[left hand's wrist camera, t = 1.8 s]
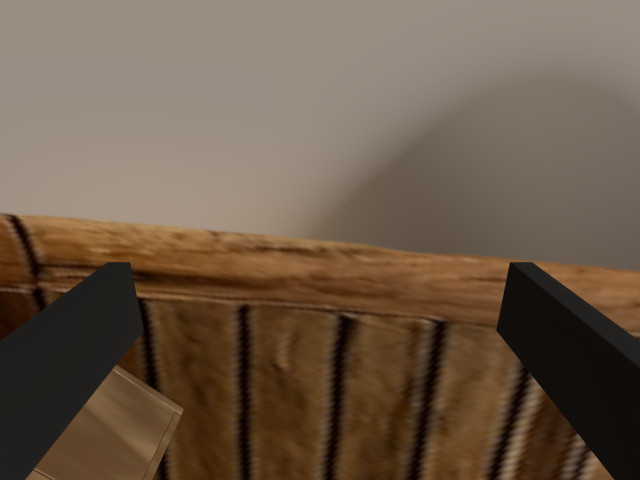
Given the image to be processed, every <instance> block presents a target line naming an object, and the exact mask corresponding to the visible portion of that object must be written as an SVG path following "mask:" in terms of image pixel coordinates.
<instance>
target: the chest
mask: <svg viewBox="0 0 640 480" xmlns="http://www.w3.org/2000/svg"><path fill="white" fill-rule="evenodd" d="M183 410H184V409H183V408H182V407H180V406H179V405H177V404H176V403H174V402H173V401H171V400H170V399H168V398H167V397H165V396H164V395H162V394H161V393H159V392H158V391H156V390H155V389H153V388H151V387H150V386H148V385H147V384H145V383H144V382H142V381H141V380H139V379H138V378H136V377H135V376H133V375H132V374H130V373H129V372H127V371H126V370H124V369H122V368H121V367H119V366H118V365H116V366H115V367H114V368H113V370H112V371H111V372H110V373H109V375H108V376H107V377H106V378H105V380H104V381H103V382H102V384H101V385H100V386H99V387H98V389H97V390H96V391H95V392H94V394H93V395H92V396H91V397H90V399H89V400H88V401H87V403H86V404H85V405H84V406H83V408H82V409H81V410H80V411H79V413H78V414H77V415H76V416H75V418H74V419H73V420H72V422H71V423H70V424H69V425H68V427H67V428H66V429H65V430H64V432H63V433H62V434H61V435H60V437H59V438H58V439H57V440H56V442H55V443H54V444H53V446H52V447H51V448H50V449H49V451H48V452H47V453H46V454H45V456H44V457H43V458H42V459H41V461H40V462H39V463H38V465H37V466H36V467H35V468H34V470H33V471H35V472H37V473H39V474H41V475H43V476H44V477H46V478H48V479H50V480H152V479H153V477H154V474H155V472H156V470H157V468H158V465H159V463H160V461H161V459H162V457H163V454H164V452H165V450H166V448H167V446H168V443H169V441H170V439H171V437H172V434H173V432H174V430H175V428H176V426H177V423H178V421H179V419H180V417H181V414H182V412H183Z"/></svg>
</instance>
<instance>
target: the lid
mask: <svg viewBox="0 0 640 480" xmlns="http://www.w3.org/2000/svg"><path fill="white" fill-rule="evenodd" d="M26 480H50V479H48V478H46V477H44V476H43V475H41V474H39V473H37V472H35V471H32V472H31V473H30V475H29V476H28V477H27V478H26Z"/></svg>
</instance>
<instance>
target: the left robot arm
mask: <svg viewBox="0 0 640 480" xmlns="http://www.w3.org/2000/svg"><path fill="white" fill-rule="evenodd" d="M142 332H143V325H142V320H141V315H140V310H139V305H138V300H137V295H136V290H135V285H134V280H133V275H132V270H131V265H130V262H108V263H106V264H105V265H104V266H102V267H101V268H99V269H98V270H97V271H95V272H94V273H93V274H91V275H90V276H89V277H87V278H86V279H84V280H83V281H82V282H80V283H79V284H78V285H76V286H75V287H74V288H72V289H71V290H69V291H68V292H67V293H65V294H64V295H63V296H61V297H60V298H58V299H57V300H56V301H54V302H53V303H52V304H50V305H49V306H48V307H46V308H45V309H43V310H42V311H41V312H39V313H38V314H37V315H35V316H34V317H33V318H31V319H30V320H28V321H27V322H26V323H24V324H23V325H22V326H20V327H19V328H18V329H16V330H15V331H13V332H12V333H11V334H9V335H8V336H7V337H5V338H4V339H3V340H1V341H0V480H26V478H27V477H28V476H29V475H30V473H31V472H32V471H33V470H34V468H35V467H36V466H37V465H38V463H39V462H40V461H41V459H42V458H43V457H44V456H45V454H46V453H47V452H48V451H49V449H50V448H51V447H52V446H53V444H54V443H55V442H56V440H57V439H58V438H59V437H60V435H61V434H62V433H63V432H64V430H65V429H66V428H67V427H68V425H69V424H70V423H71V422H72V420H73V419H74V418H75V416H76V415H77V414H78V413H79V411H80V410H81V409H82V408H83V406H84V405H85V404H86V403H87V401H88V400H89V399H90V397H91V396H92V395H93V394H94V392H95V391H96V390H97V389H98V387H99V386H100V385H101V384H102V382H103V381H104V380H105V378H106V377H107V376H108V375H109V373H110V372H111V371H112V370H113V368H114V367H115V366H116V365H117V363H118V362H119V361H120V359H121V358H122V357H123V356H124V354H125V353H126V352H127V351H128V349H129V348H130V347H131V346H132V344H133V343H134V342H135V341H136V339H137V338H138V337H139V335H140V334H141V333H142ZM497 332H498V333H499V334H500V335H501V337H502V338H503V339H504V341H505V342H506V343H507V344H508V346H509V347H510V348H511V349H512V351H513V352H514V353H515V354H516V356H517V357H518V358H519V359H520V361H521V362H522V363H523V365H524V366H525V367H526V368H527V370H528V371H529V372H530V373H531V375H532V376H533V377H534V378H535V380H536V381H537V382H538V384H539V385H540V386H541V387H542V389H543V390H544V391H545V392H546V394H547V395H548V396H549V397H550V399H551V400H552V401H553V403H554V404H555V405H556V406H557V408H558V409H559V410H560V411H561V413H562V414H563V415H564V416H565V418H566V419H567V420H568V422H569V423H570V424H571V425H572V427H573V428H574V429H575V430H576V432H577V433H578V434H579V435H580V437H581V438H582V439H583V440H584V442H585V443H586V444H587V446H588V447H589V448H590V449H591V451H592V452H593V453H594V454H595V456H596V457H597V458H598V459H599V461H600V462H601V463H602V465H603V466H604V467H605V468H606V470H607V471H608V472H609V473H610V475H611V476H612V477H613V478H614V480H640V339H638V338H635V337H633V336H632V335H631V334H629V333H628V332H627V331H625V330H624V329H622V328H621V327H620V326H618V325H617V324H616V323H614V322H613V321H612V320H610V319H609V318H607V317H606V316H605V315H603V314H602V313H601V312H599V311H598V310H597V309H595V308H594V307H592V306H591V305H590V304H588V303H587V302H586V301H584V300H583V299H582V298H580V297H579V296H577V295H576V294H575V293H573V292H572V291H571V290H569V289H568V288H566V287H565V286H564V285H562V284H561V283H560V282H558V281H557V280H556V279H554V278H553V277H551V276H550V275H549V274H547V273H546V272H545V271H543V270H542V269H541V268H539V267H538V266H536V265H535V264H534V263H532V262H510V265H509V270H508V275H507V280H506V285H505V290H504V295H503V300H502V305H501V310H500V315H499V320H498V325H497Z"/></svg>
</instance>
